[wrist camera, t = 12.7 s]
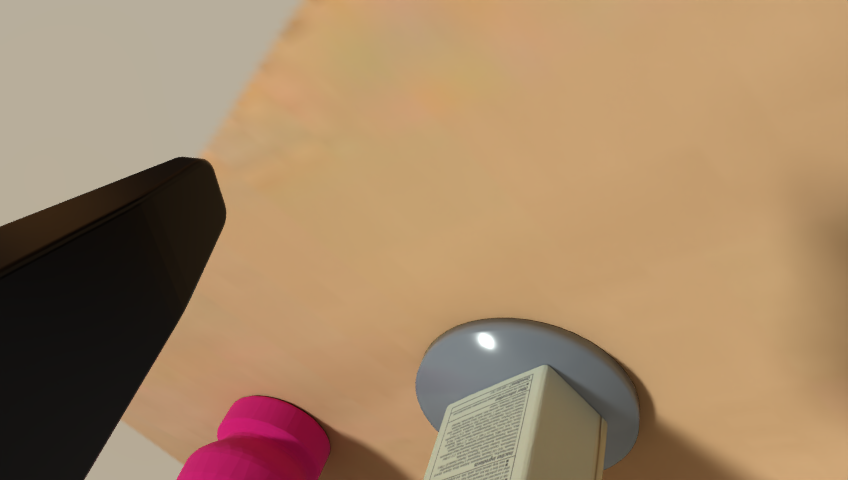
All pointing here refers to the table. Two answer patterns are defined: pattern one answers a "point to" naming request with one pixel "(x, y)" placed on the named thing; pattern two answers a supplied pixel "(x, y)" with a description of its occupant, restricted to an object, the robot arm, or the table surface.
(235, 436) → the pepper mill
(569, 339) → the charcoal coaster
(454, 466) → the skincare box
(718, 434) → the table surface
